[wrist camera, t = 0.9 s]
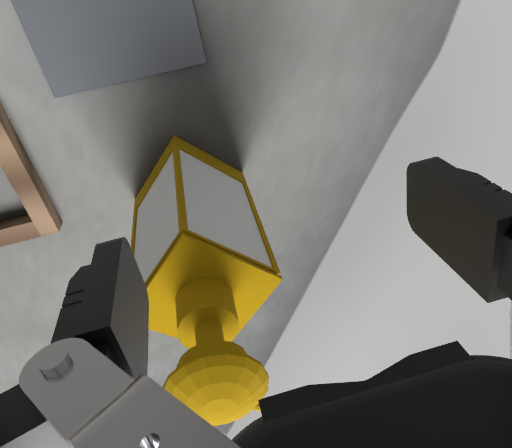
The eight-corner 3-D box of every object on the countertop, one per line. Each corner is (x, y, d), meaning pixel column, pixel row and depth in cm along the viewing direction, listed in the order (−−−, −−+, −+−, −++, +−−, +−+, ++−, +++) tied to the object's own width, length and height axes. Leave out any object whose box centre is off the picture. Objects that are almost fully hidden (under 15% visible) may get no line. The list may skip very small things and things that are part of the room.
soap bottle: (247, 250, 45) (315, 480, 26) (135, 199, 40) (113, 442, 20) (287, 197, 43) (396, 407, 23) (173, 134, 37) (192, 342, 18)
